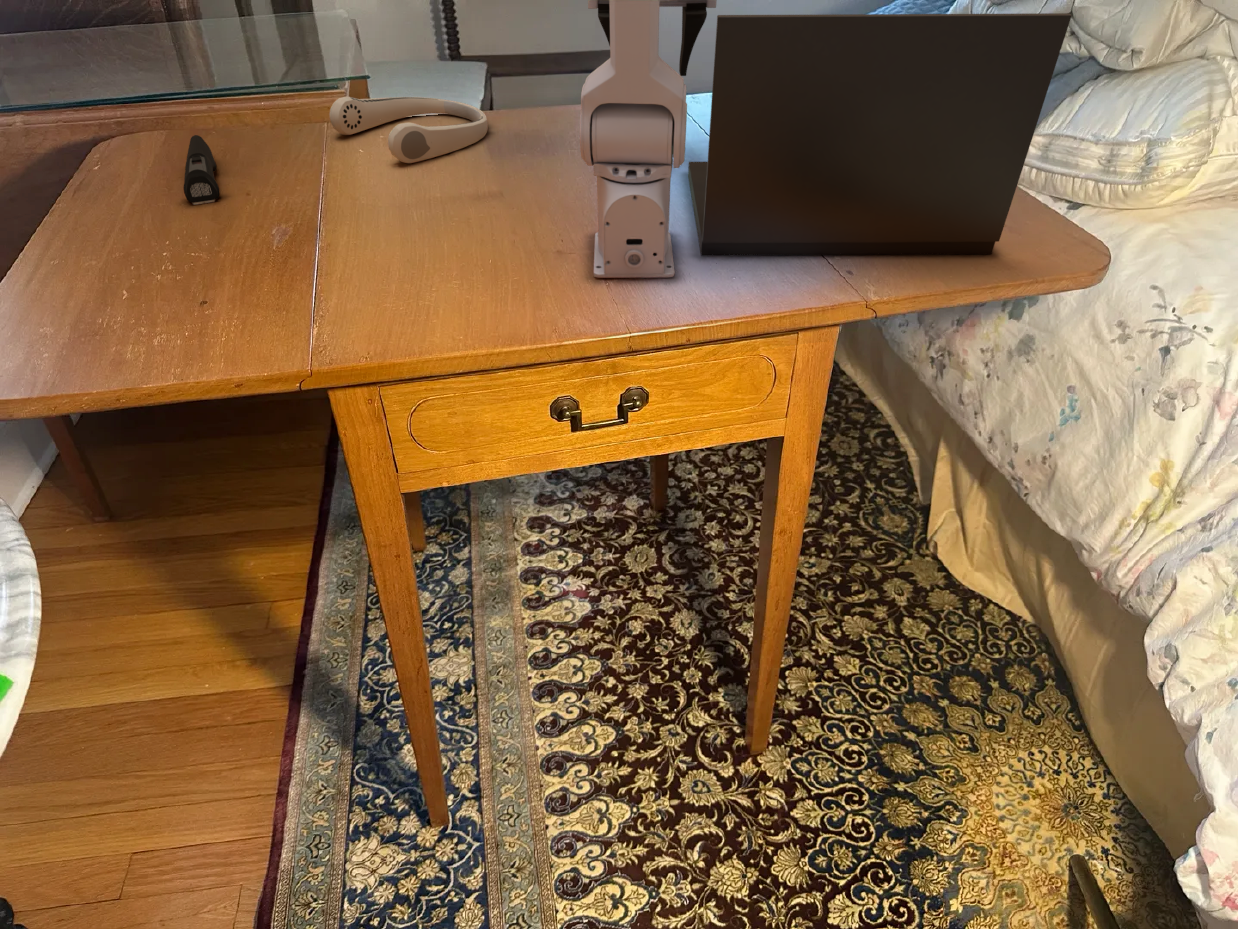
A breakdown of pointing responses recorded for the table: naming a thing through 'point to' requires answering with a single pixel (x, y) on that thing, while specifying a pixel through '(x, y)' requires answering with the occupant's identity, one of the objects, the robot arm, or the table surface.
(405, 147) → the beige neck fan
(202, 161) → the electric trimmer
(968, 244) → the laptop
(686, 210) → the table surface
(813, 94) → the laptop screen
